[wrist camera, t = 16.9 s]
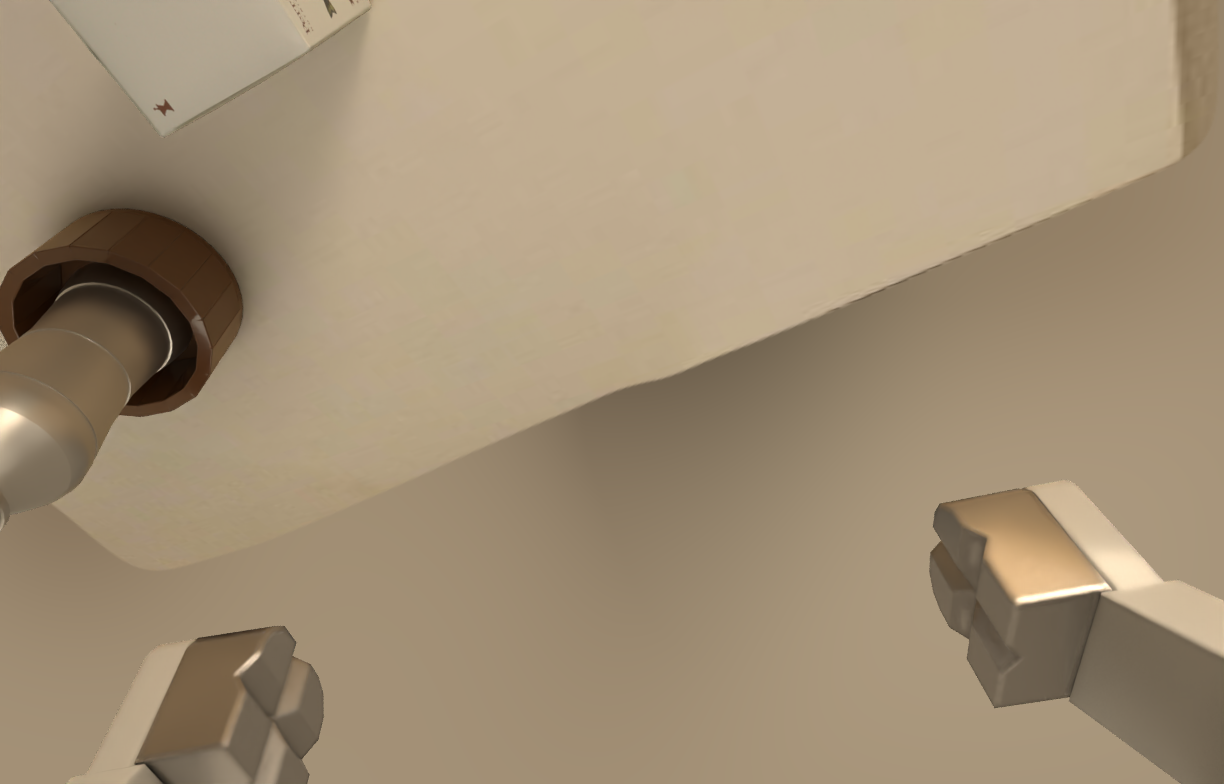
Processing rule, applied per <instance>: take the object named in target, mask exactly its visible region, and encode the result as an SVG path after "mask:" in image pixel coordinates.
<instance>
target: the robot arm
mask: <svg viewBox="0 0 1224 784" xmlns="http://www.w3.org/2000/svg"><path fill="white" fill-rule="evenodd" d="M933 527H934V529H935V531H936V532H937V534H938V536H939V537H940V539H941V541H940V542H939V544H938V545H937V546H936V547H935V548H934V549H933V550H932V551H931V553H930V577H931V582H932V587H933V592H934V595H935V598H936V600H937V603H938V606H939V608H940V611H941V612H942V614H943V616H944V618H945V620H946V622H947V624H948V626H949V627H950V628H951V629H953V630H955V631H956V632H958V633H960V634H961V635H963V636H965V637H966V638H968V639H969V647H968V654H967V660H968V662H969V663H970V665H971V667H972V669H973V670H974V672H975V674H976V676H977V678H978V679H979V681H980V683H981V685H982V686H983V688H984V690H985V692H986V694H987V695H988V697H989V699H990V701H991V702H992V704H993V706H994V708H998V707H1006V706H1012V705H1019V704H1026V703H1033V702H1040V701H1046V700H1053V699H1060V698H1067V697H1070V699H1069V701H1070V702H1071V703H1072V704H1074V705H1075V706H1077V707H1078V708H1079V709H1081V710H1082V711H1083V712H1085V713H1086V714H1087V715H1089V716H1090V717H1091V718H1093V719H1094V720H1095V721H1097V722H1098V723H1100V724H1101V725H1103V726H1104V727H1105V728H1106V729H1108V730H1109V731H1111V732H1112V733H1113V734H1114V735H1116V736H1117V737H1119V738H1120V739H1121V740H1122V741H1124V742H1126V743H1127V744H1128V745H1129V746H1131V747H1132V748H1133V749H1135V750H1136V751H1138V752H1139V753H1140V754H1142V755H1143V756H1144V757H1146V758H1147V759H1148V760H1150V761H1151V762H1152V763H1154V764H1155V765H1156V766H1158V767H1159V768H1160V769H1162V770H1163V771H1164V772H1166V773H1167V774H1169V775H1170V776H1171V777H1173V778H1174V779H1175V780H1177V781H1178V782H1179V783H1181V784H1224V601H1223V600H1221V599H1219V598H1217V597H1214V596H1212V595H1210V594H1208V593H1206V592H1204V591H1202V590H1199V589H1197V588H1195V587H1193V586H1191V585H1188V584H1186V583H1184V582H1182V581H1180V580H1173V581H1166V582H1164V581H1163V580H1162V578H1161V577H1160V576H1159V575H1158V574H1157V573H1156V572H1155V571H1154V570H1153V569H1152V567H1151V566H1150V565H1149V564H1148V563H1147V562H1146V561H1145V560H1144V559H1143V558H1142V556H1140V554H1139V553H1138V552H1137V551H1136V550H1135V549H1134V548H1133V547H1132V546H1131V544H1130V543H1129V542H1128V541H1127V540H1126V539H1125V538H1124V537H1123V536H1122V534H1121V533H1120V532H1119V531H1118V530H1117V529H1116V528H1115V527H1114V526H1113V525H1112V523H1111V522H1110V521H1109V520H1108V519H1107V518H1106V517H1105V516H1104V515H1103V514H1102V512H1100V510H1099V509H1098V508H1097V507H1096V506H1095V505H1094V504H1093V503H1092V502H1091V500H1090V499H1089V498H1088V497H1087V496H1086V495H1085V494H1084V493H1083V492H1082V490H1081V489H1080V488H1079V487H1078V486H1077V485H1076V484H1074V483H1072V482H1070V481H1068V480H1062V481H1057V482H1052V483H1046V484H1041V485H1036V486H1030V487H1025V488H1022V489H1013V490H1007V491H1002V492H997V493H992V494H987V495H982V496H977V497H971V498H966V499H961V500H956V501H951V502H946V503H941V504H939V506H938V507H937V509H936V511H935V514H934V523H933ZM295 646H296V641H295V640H294V639H293V637H292V636H291V634H290V633H289V632H288V630H287V629H286V627H285V626H272V627H266V628H259V629H253V630H246V631H240V632H233V633H227V634H221V635H214V636H208V637H202V638H197V639H192V640H186V641H180V642H174V643H168V644H162V645H158V646H157V647H156V648H155V649H153V650H152V651H151V652H150V653H149V654H148V655H147V656H146V657H145V659H144V661H143V663H142V665H141V667H140V669H139V671H138V673H137V675H136V677H135V679H134V681H133V683H132V685H131V687H130V689H129V691H128V692H127V694H126V697H125V699H124V701H123V702H122V704H121V706H120V708H119V710H118V712H117V714H116V717H115V718H114V720H113V722H112V724H111V726H110V728H109V730H108V732H107V734H106V736H105V738H104V740H103V742H102V744H101V746H100V748H99V749H98V751H97V753H96V755H95V757H94V759H93V761H92V763H91V765H90V767H89V769H88V771H87V773H86V774H83V775H78V776H74V777H72V778H71V779H70V780H69V781H68V782H67V783H66V784H307V782H308V778H309V773H308V771H307V769H306V767H305V765H304V763H303V761H302V758H303V757H304V756H305V755H306V754H307V752H308V751H309V750H310V749H311V748H312V746H313V745H314V744H315V743H316V742H317V741H318V739H319V734H320V730H321V726H322V722H323V716H324V714H323V691H322V687H321V684H320V681H319V677H318V675H317V674H316V672H315V670H314V669H313V667H312V666H311V664H309V663H307V662H304V661H302V660H300V659H298V658H296V657H294V656H292V655H293V652H294V649H295Z"/></svg>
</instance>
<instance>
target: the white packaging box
mask: <svg viewBox="0 0 1224 784" xmlns="http://www.w3.org/2000/svg"><path fill="white" fill-rule="evenodd" d="M49 1H50V2H51V3H52V4H53V6H54V7H55V8H56V9H57V11H58V12H59V13H60V14H61V15H62V17H63V18H64V19H65V20H66V21H67V23H68V24H69V25H70V26H71V28H72V29H73V30H74V31H75V32H76V34H77V35H78V36H79V37H80V39H81V40H82V41H83V43H84V44H85V45H86V46H87V48H88V49H89V51H90V52H91V53H92V54H93V55H94V57H95V58H96V59H97V60H98V61H99V62H100V63H101V64H102V66H103V67H104V68H105V69H106V70H107V72H108V73H109V74H110V75H111V77H112V78H113V79H114V80H115V81H116V83H117V84H118V85H119V86H120V87H121V89H122V90H123V91H124V92H125V94H126V95H127V96H128V97H129V98H130V100H131V101H132V102H133V103H134V105H135V106H136V107H137V108H138V110H139V111H140V112H141V113H142V114H143V116H144V117H145V118H146V119H147V121H148V122H149V123H150V124H151V126H152V127H153V128H154V130H155V131H156V132H157V133H158V135H159V136H161V137H164V138H165V137H167V136H169V135H171V134H172V133H174V132H176V131H178V130H179V129H181V128H183V127H185V126H187V125H188V124H190V123H192V122H194V121H196V120H198V119H199V118H201V117H203V116H205V115H207V114H208V113H210V112H212V111H214V110H216V109H217V108H219V107H221V106H223V105H224V104H226V103H228V102H229V101H231V100H233V99H235V98H236V97H238V96H240V95H241V94H243V93H245V92H246V91H248V90H250V89H252V88H253V87H255V86H257V85H258V84H260V83H262V82H263V81H265V80H267V79H268V78H270V77H271V76H273V75H274V74H276V73H278V72H279V71H281V70H282V69H284V68H285V67H287V66H289V65H290V64H292V63H293V62H295V61H296V60H298V59H299V58H301V57H302V56H304V55H305V54H307V53H308V52H310V51H311V50H313V49H314V48H316V47H317V46H318V45H320V44H321V43H323V42H324V41H326V40H327V39H329V38H330V37H332V36H333V35H335V34H336V33H337V32H339V31H340V30H341V29H343V28H344V27H345V26H347V25H348V24H350V23H351V22H352V21H354V20H355V19H357V18H358V17H360V16H361V15H363V14H364V13H366V12H367V11H369V10H370V9H371V4H370V2H369V1H368V0H49Z"/></svg>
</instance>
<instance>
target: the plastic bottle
mask: <svg viewBox="0 0 1224 784" xmlns="http://www.w3.org/2000/svg"><path fill="white" fill-rule="evenodd" d="M192 335H193V332H192V329H191V326H190V323H189V321H188V320H187V319H186V318H185V316H184V315H183V314H182V313H181V311H180V310H179V309H178V308H177V306H176V305H175V304H174V302H173V301H172V300H171V299H170V298H169V297H168V296H167V295H165V294H164V293H162V292H161V291H160V290H158V289H157V288H156V287H154V286H153V285H151V284H150V283H149V282H147V281H146V280H145V279H143V278H142V277H139V276H137V275H134V274H132V273H129V272H127V271H124V270H122V269H119V268H117V267H114V266H112V265H109V264H106V263H98V262H92V263H90V264H87V265H85V266H84V267H82V268H80V269H78V270H77V271H76V272H75V273H74V274H73V275H72V276H71V277H70V279H69V280H68V281H67V282H66V284H65V285H64V286H63V288H62V289H61V291H60V293H59V295H58V296H57V298H56V300H55V302H54V304H53V305H52V306H51V307H50V308H49V309H48V310H47V312H46V313H45V314H44V315H43V316H42V317H41V318H40V319H39V321H38V322H37V323H36V324H35V325H34V326H33V327H32V328H31V329H30V330H29V331H27V332H26V333H25V334H23V335H22V336H21V337H20V338H19V339H17V340H16V341H14V342H13V343H11V344H10V345H8V346H7V347H6V348H4V349H3V350H2V351H0V531H1V530H2V529H3V527H4V526H5V525H6V523H7V522H8V520H9V517H10V515H12V514H17V513H21V512H25V511H28V510H32V509H35V508H39V507H42V506H45V505H48V504H50V503H52V502H54V501H56V500H58V499H60V498H61V497H63V496H64V495H66V494H67V493H69V492H71V491H72V490H73V489H74V488H76V487H77V486H78V485H79V484H80V483H81V481H82V480H83V478H84V476H85V475H86V473H87V472H88V470H89V469H90V467H91V466H92V464H93V462H94V459H95V458H96V456H97V454H98V452H99V450H100V448H101V446H102V444H103V442H104V440H105V438H106V436H107V434H108V432H109V430H110V428H111V426H112V424H113V423H114V421H115V420H116V418H117V417H118V415H119V414H120V413H121V411H122V409H123V408H124V407H125V405H126V404H127V402H128V401H129V399H130V398H131V396H132V395H133V394H134V393H135V392H136V391H137V390H138V389H139V388H140V387H141V386H142V385H143V384H145V383H146V382H147V381H148V380H149V379H150V378H151V377H152V376H153V375H154V374H155V373H156V372H158V371H160V370H161V369H163V368H164V367H166V366H167V365H169V364H170V363H171V362H172V361H173V360H174V359H176V358H177V357H178V356H179V355H180V354H181V353H182V352H184V351H185V349H186V348H187V346H188V345H189V343H190V341H191V338H192Z"/></svg>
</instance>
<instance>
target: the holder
mask: <svg viewBox="0 0 1224 784" xmlns="http://www.w3.org/2000/svg"><path fill="white" fill-rule="evenodd" d="M92 262H98V263H106V264H109V265H112V266H114V267H117V268H119V269H122V270H124V271H127V272H129V273H132V274H134V275H137V276H139V277H142V278H143V279H145V280H146V281H147V282H149V283H150V284H151V285H153V286H154V287H156V288H157V289H158V290H160V291H161V292H162V293H164V294H165V295H167V296H168V297H169V298H170V299H171V300H172V301H173V302H174V304H175V305H176V306H177V308H178V309H179V310H180V311H181V313H182V314H183V315H184V316H185V318H186V319H187V320H188V321H189V323H190V326H191V329H192V332H193V335H192V338H191V341H190V343H189V345H188V346H187V348H186V349H185V351H184V352H182V353H181V354H180V355H179V356H178V357H177V358H176V359H174V360H173V361H172V362H171V363H170V364H169V365H167V366H166V367H164V368H163V369H161V370H160V371H158V372H156V373H155V374H154V375H153V376H152V377H151V378H150V379H149V380H148V381H147V382H146V383H145V384H143V385H142V386H141V387H140V388H139V389H138V390H137V391H136V392H135V393H134V394H133V395H132V396H131V398H130V399H129V401H128V402H127V404H126V405H125V407H124V408H123V409H122V411H121V413H120V414H119V415H125V416H136V417H141V416H142V417H143V416H149V415H154V414H159V413H165V412H170V411H172V410H175V409H176V408H178V407H180V406H181V405H183V404H185V403H186V402H188V401H190V400H191V399H193V398H195V397H196V396H197V395H198V393H199V392H200V390H201V389H202V387H203V386H204V384H205V383H206V381H207V380H208V378H209V377H210V375H211V374H212V372H213V371H214V369H215V368H216V366H217V365H218V363H219V362H220V360H221V358H222V357H223V355H224V354H225V352H226V351H227V349H228V348H229V346H230V345H231V343H232V342H233V340H234V339H235V337H236V336H237V333H238V330H239V328H240V325H241V320H242V310H243V306H242V298H241V294H240V290H239V286H238V284H237V282H236V279H235V277H234V275H233V273H232V272H231V270H230V268H229V266H228V265H227V264H226V262H225V261H224V260H223V258H222V257H221V256H220V255H219V254H218V253H217V251H216V250H215V249H214V248H213V247H212V246H211V245H210V244H208V243H207V242H206V241H205V240H204V239H203V238H201V237H200V236H199V235H197V234H196V233H194V232H193V231H192V230H190V229H188V228H186V227H185V226H183V225H181V224H179V223H177V222H175V221H173V220H171V219H168V218H166V217H163V216H160V215H157V214H154V213H150V212H146V211H141V210H133V209H108V210H101V211H97V212H93V213H90V214H88V215H85V216H83V217H81V218H79V219H77V220H76V221H74V222H73V223H71V224H70V225H69V226H67V227H66V228H64V229H63V230H62V231H60V232H59V233H57V234H56V235H55V236H53V237H52V238H51V239H49V240H48V241H47V242H45V243H44V244H43V245H41V246H40V247H38V248H37V249H36V250H34V251H33V252H32V253H30V254H29V255H28V256H26V257H25V258H24V259H22V260H21V261H20V262H18V263H17V264H16V265H14V266H13V267H12V268H10V269H9V270H8V272H7V274H6V276H5V278H4V280H3V282H2V284H1V287H0V330H1V332H2V334H3V336H4V338H5V340H6V342H7V344H8V345H10V344H11V343H13V342H14V341H16V340H17V339H19V338H20V337H21V336H22V335H23V334H25V333H26V332H27V331H29V330H30V329H31V328H32V327H33V326H34V325H35V324H36V323H37V322H38V321H39V319H40V318H41V317H42V316H43V315H44V314H45V313H46V312H47V310H48V309H49V308H50V307H51V306H52V305H53V304H54V302H55V300H56V298H57V296H58V295H59V293H60V291H61V289H62V288H63V286H64V285H65V284H66V282H67V281H68V280H69V279H70V277H71V276H72V275H73V274H74V273H75V272H76V271H77V270H78V269H80V268H82V267H84V266H85V265H87V264H90V263H92Z"/></svg>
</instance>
